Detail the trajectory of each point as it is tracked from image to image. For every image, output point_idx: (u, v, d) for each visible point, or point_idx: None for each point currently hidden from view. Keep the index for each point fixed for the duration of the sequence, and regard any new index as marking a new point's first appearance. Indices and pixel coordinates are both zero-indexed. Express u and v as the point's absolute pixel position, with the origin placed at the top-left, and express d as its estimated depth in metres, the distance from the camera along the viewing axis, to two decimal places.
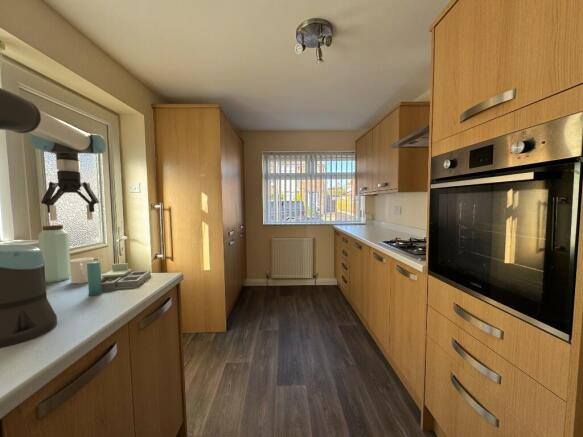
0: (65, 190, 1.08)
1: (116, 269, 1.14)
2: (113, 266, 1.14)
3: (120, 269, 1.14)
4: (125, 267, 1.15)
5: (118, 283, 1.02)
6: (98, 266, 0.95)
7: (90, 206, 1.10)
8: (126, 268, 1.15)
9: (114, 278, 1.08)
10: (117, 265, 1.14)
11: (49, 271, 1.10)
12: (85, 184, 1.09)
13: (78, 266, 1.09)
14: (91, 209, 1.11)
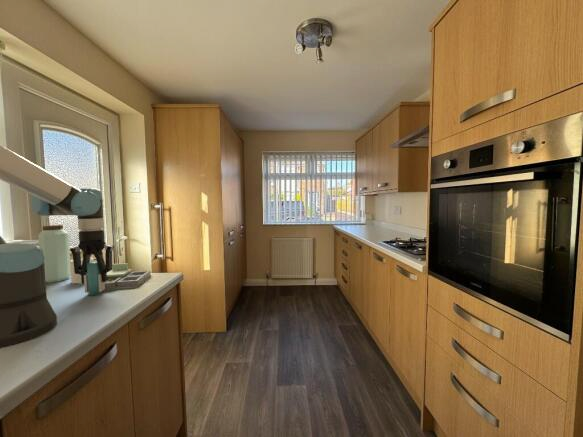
0: (87, 252, 0.94)
1: (116, 269, 1.14)
2: (113, 266, 1.14)
3: (120, 269, 1.14)
4: (125, 267, 1.15)
5: (118, 283, 1.02)
6: None
7: (102, 275, 0.95)
8: (126, 268, 1.15)
9: (114, 278, 1.08)
10: (117, 265, 1.14)
11: (49, 271, 1.11)
12: (109, 249, 0.95)
13: None
14: (103, 279, 0.95)
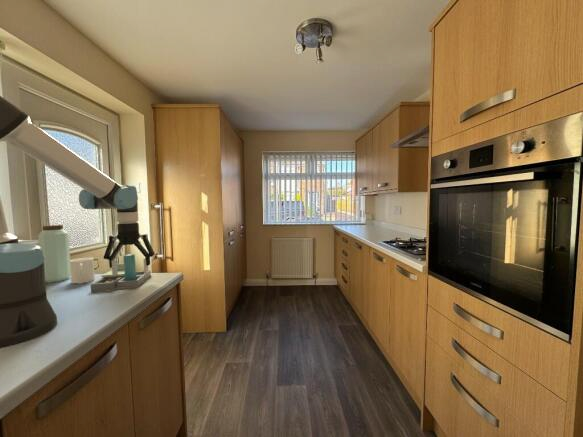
0: (125, 243, 1.04)
1: None
2: None
3: (120, 269, 1.14)
4: None
5: (118, 283, 1.02)
6: (133, 258, 1.05)
7: (147, 259, 1.07)
8: None
9: (114, 278, 1.08)
10: (117, 265, 1.14)
11: (49, 271, 1.11)
12: (144, 237, 1.06)
13: (78, 266, 1.09)
14: (148, 262, 1.07)
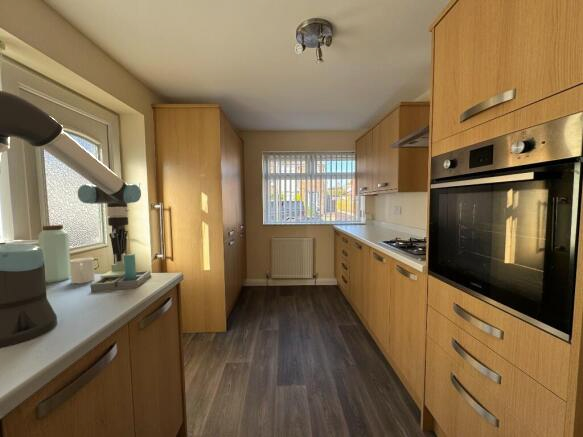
0: None
1: (115, 269, 1.13)
2: (112, 266, 1.13)
3: (119, 269, 1.13)
4: None
5: (118, 283, 1.02)
6: (133, 258, 1.05)
7: None
8: None
9: (114, 278, 1.08)
10: (116, 265, 1.13)
11: (49, 271, 1.10)
12: None
13: (78, 266, 1.09)
14: None
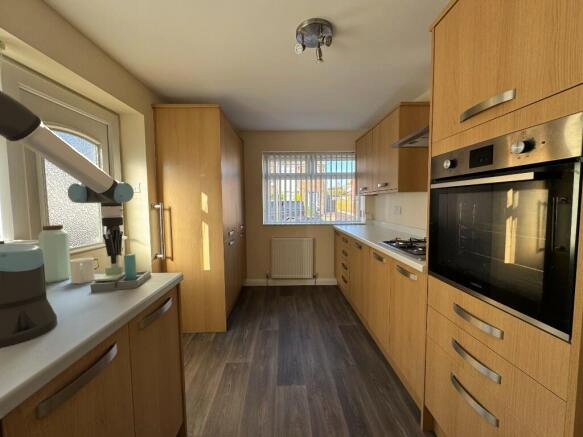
0: None
1: (109, 273, 1.08)
2: (106, 269, 1.08)
3: (114, 273, 1.08)
4: (119, 270, 1.09)
5: (118, 283, 1.02)
6: (133, 258, 1.06)
7: None
8: (120, 271, 1.09)
9: None
10: (111, 268, 1.08)
11: (49, 271, 1.10)
12: None
13: (78, 266, 1.09)
14: None
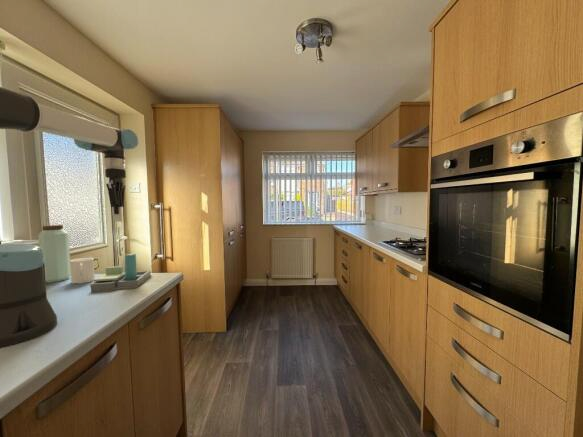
0: None
1: (109, 273, 1.08)
2: (106, 269, 1.08)
3: (114, 273, 1.08)
4: (119, 270, 1.09)
5: (118, 283, 1.02)
6: (134, 258, 1.06)
7: None
8: (120, 271, 1.09)
9: None
10: (111, 268, 1.08)
11: (49, 271, 1.11)
12: None
13: (78, 266, 1.09)
14: None
